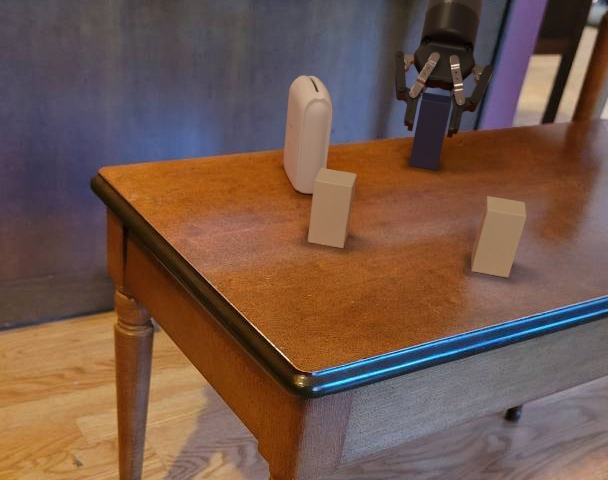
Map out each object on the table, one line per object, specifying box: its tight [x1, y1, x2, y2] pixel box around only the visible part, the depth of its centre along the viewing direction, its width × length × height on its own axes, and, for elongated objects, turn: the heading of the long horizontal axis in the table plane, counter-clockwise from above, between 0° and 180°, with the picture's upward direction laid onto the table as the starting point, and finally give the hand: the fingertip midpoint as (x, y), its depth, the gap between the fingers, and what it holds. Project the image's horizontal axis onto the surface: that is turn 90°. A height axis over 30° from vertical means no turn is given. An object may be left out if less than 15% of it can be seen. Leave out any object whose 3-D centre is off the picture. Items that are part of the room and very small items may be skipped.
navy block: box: [408, 91, 452, 171], centre depth 103 cm, size 4×4×9 cm
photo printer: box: [283, 75, 334, 195], centre depth 92 cm, size 10×4×12 cm, turn 11°
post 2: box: [470, 195, 527, 279], centre depth 79 cm, size 4×4×7 cm
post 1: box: [307, 168, 358, 249], centre depth 80 cm, size 4×4×7 cm
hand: (430, 130), depth 101 cm, fingers open, 5 cm apart
